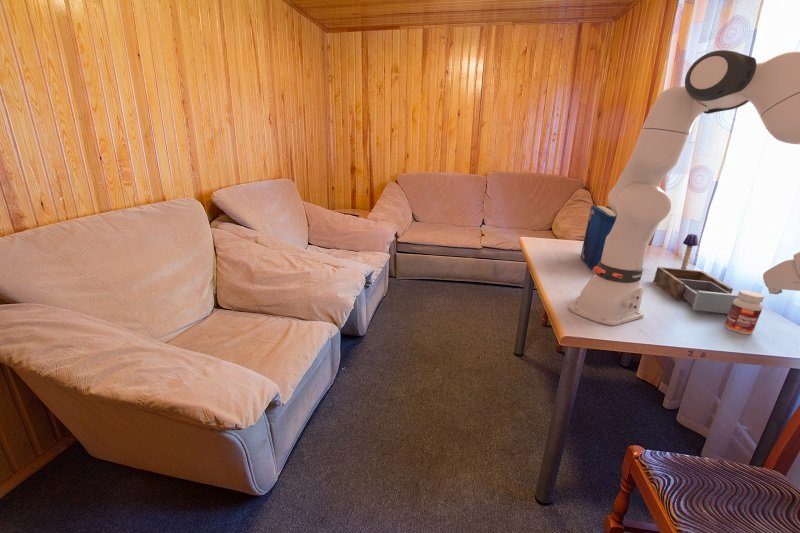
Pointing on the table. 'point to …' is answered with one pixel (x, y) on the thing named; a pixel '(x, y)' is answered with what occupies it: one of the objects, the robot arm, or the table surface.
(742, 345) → the table surface
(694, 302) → the tray
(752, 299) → the pill bottle
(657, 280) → the walnut box
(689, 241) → the toy lamp
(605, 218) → the book
